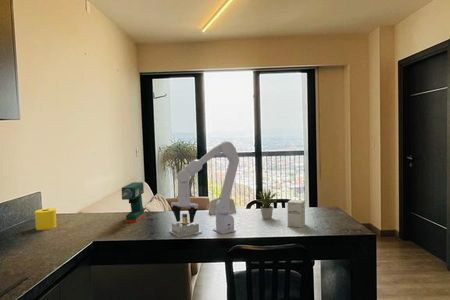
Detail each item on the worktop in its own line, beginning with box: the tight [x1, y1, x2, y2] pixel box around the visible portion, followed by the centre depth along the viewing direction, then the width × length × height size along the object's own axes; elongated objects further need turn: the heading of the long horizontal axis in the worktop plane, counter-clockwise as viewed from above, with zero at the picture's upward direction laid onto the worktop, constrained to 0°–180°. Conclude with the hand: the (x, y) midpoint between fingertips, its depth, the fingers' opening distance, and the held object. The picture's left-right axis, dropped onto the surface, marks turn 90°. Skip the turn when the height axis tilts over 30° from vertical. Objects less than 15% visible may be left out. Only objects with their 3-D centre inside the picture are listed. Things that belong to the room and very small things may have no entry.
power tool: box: [121, 181, 146, 223], centre depth 197 cm, size 32×7×20 cm, turn 179°
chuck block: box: [168, 219, 203, 238], centre depth 170 cm, size 12×12×4 cm
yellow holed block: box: [34, 207, 57, 231], centre depth 189 cm, size 10×10×9 cm
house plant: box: [255, 188, 280, 220], centre depth 193 cm, size 14×14×16 cm
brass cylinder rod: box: [181, 213, 188, 225], centre depth 170 cm, size 2×2×8 cm
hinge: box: [208, 197, 237, 216], centre depth 212 cm, size 17×5×10 cm, turn 100°
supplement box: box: [287, 199, 306, 228], centre depth 177 cm, size 7×7×13 cm
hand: (184, 222), depth 170 cm, fingers open, 7 cm apart
